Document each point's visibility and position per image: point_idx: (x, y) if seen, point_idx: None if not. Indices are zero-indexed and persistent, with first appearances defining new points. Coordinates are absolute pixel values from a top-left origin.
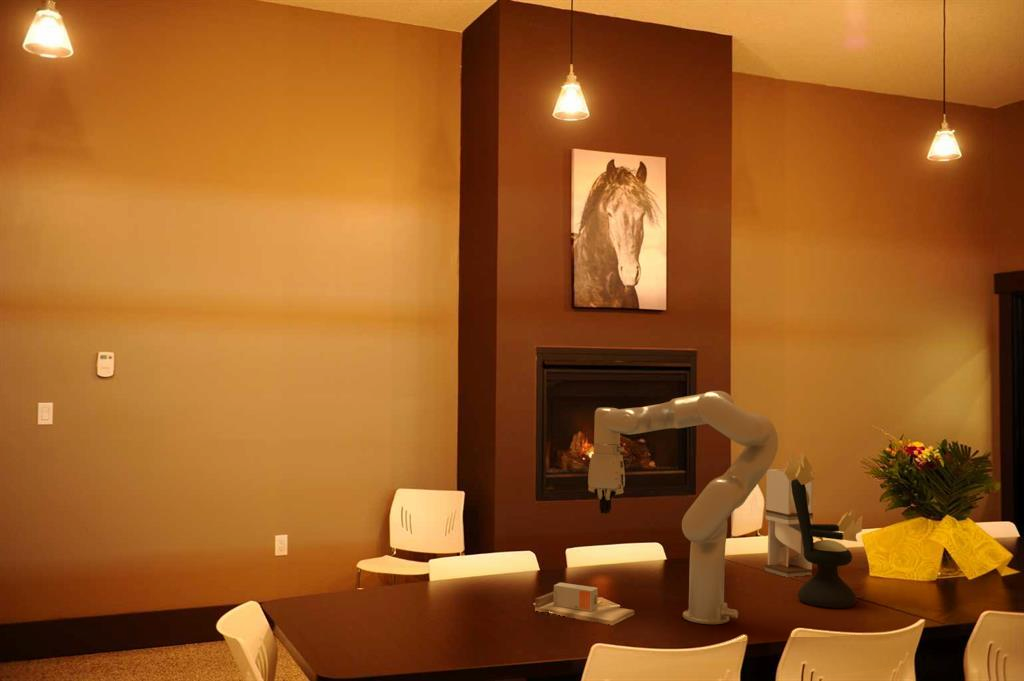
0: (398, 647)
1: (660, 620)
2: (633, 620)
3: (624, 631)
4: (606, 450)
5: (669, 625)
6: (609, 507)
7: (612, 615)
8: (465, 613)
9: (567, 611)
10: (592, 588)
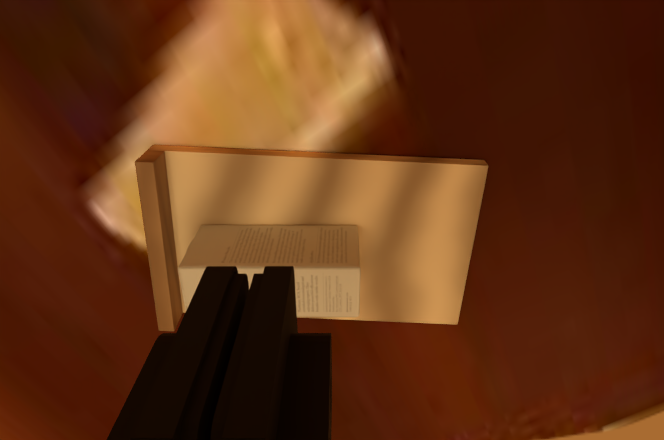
0: None
1: (593, 179)
2: (501, 230)
3: (506, 348)
4: None
5: (633, 222)
6: (331, 409)
7: (436, 271)
8: (40, 411)
9: None
10: (346, 291)
